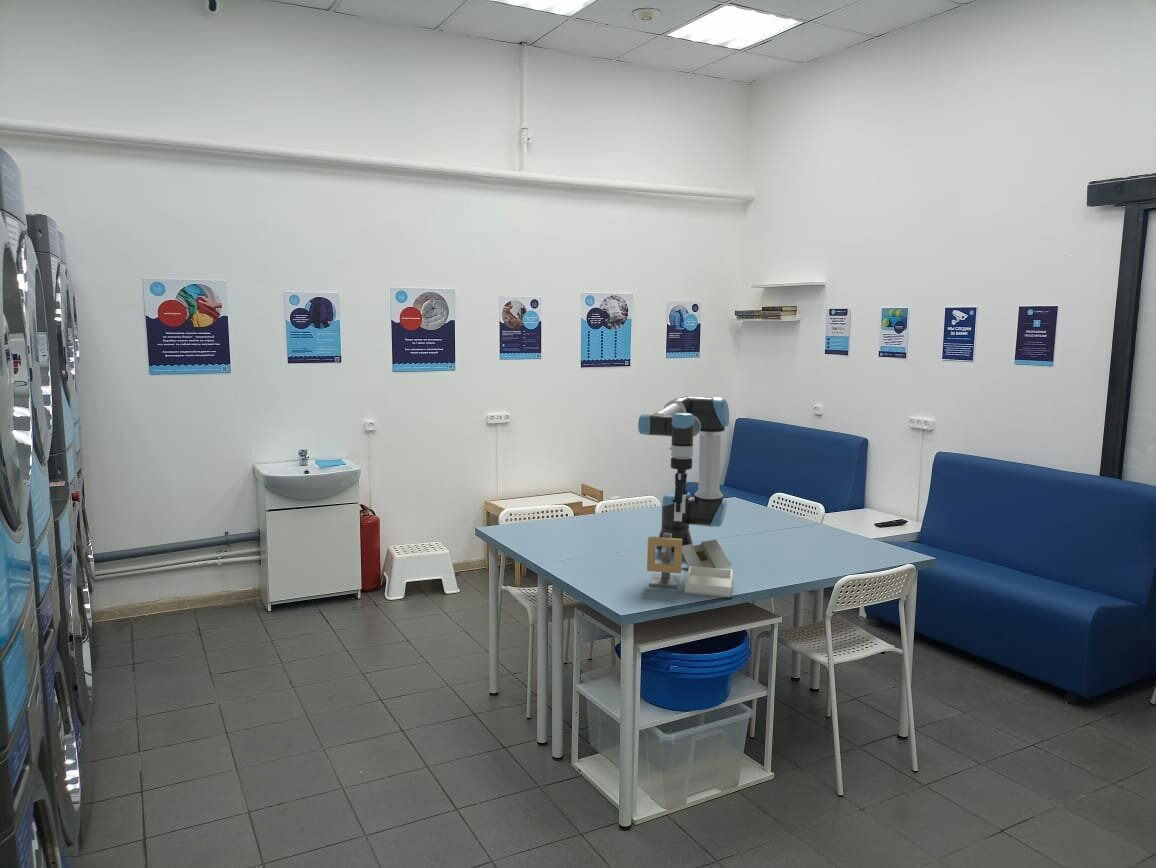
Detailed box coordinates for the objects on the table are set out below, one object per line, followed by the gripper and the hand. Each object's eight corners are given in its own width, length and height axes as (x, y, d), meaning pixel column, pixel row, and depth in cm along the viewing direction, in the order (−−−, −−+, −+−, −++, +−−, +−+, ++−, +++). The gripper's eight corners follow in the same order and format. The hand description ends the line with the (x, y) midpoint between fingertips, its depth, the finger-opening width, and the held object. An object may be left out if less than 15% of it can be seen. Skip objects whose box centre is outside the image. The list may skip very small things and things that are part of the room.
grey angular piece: (728, 577, 316) (715, 545, 325) (733, 565, 309) (719, 533, 319) (689, 585, 313) (676, 553, 322) (692, 574, 306) (679, 541, 316)
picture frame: (647, 568, 293) (648, 536, 291) (681, 571, 290) (682, 538, 289) (646, 570, 290) (647, 538, 289) (680, 573, 288) (681, 540, 286)
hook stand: (652, 576, 302) (654, 531, 300) (679, 578, 300) (681, 533, 298) (647, 589, 287) (649, 542, 284) (676, 591, 285) (677, 544, 282)
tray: (689, 575, 304) (689, 566, 303) (732, 578, 301) (732, 569, 300) (684, 593, 283) (684, 583, 282) (731, 597, 279) (731, 587, 279)
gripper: (674, 452, 297) (672, 508, 300) (667, 461, 273) (665, 523, 275) (694, 453, 295) (692, 510, 298) (689, 463, 271) (687, 525, 274)
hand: (679, 516), depth 287 cm, fingers open, 13 cm apart
